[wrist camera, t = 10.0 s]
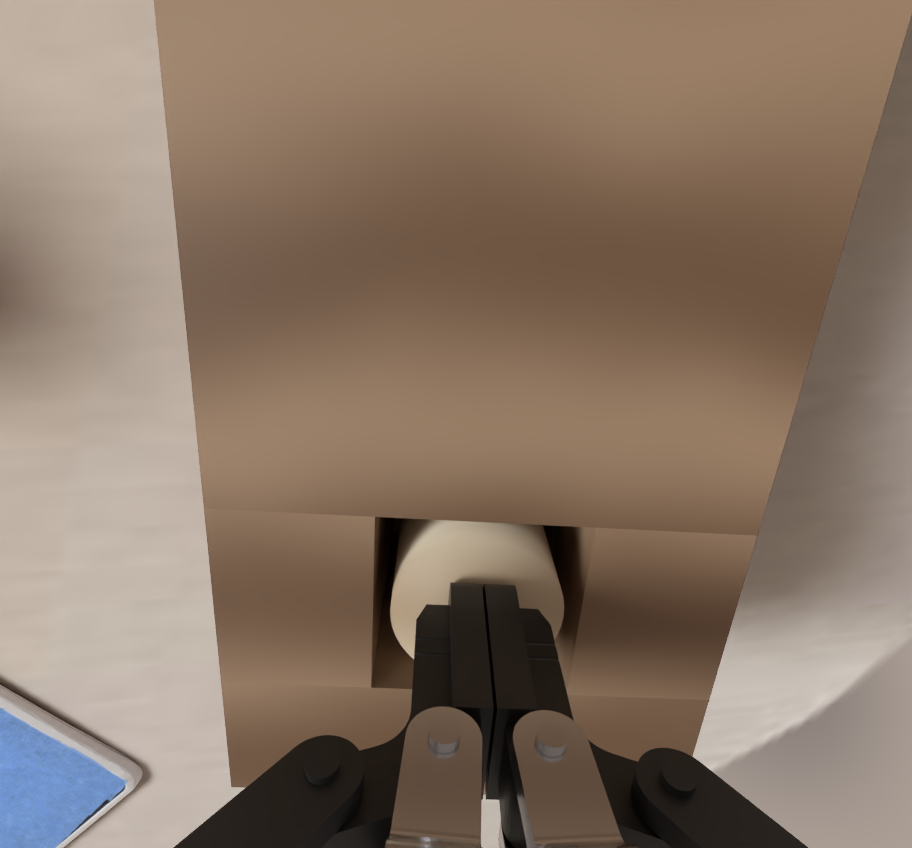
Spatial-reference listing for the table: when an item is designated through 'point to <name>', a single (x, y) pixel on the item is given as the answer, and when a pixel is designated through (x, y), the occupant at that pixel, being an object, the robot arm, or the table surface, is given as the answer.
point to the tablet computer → (54, 777)
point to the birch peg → (470, 568)
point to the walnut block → (502, 320)
